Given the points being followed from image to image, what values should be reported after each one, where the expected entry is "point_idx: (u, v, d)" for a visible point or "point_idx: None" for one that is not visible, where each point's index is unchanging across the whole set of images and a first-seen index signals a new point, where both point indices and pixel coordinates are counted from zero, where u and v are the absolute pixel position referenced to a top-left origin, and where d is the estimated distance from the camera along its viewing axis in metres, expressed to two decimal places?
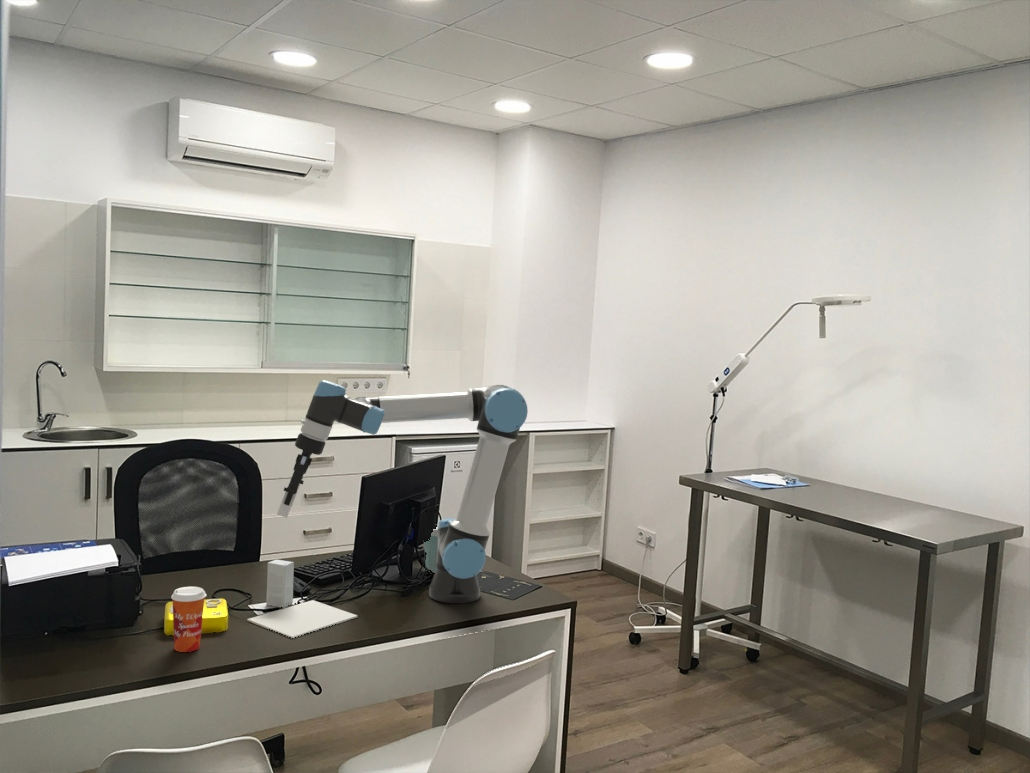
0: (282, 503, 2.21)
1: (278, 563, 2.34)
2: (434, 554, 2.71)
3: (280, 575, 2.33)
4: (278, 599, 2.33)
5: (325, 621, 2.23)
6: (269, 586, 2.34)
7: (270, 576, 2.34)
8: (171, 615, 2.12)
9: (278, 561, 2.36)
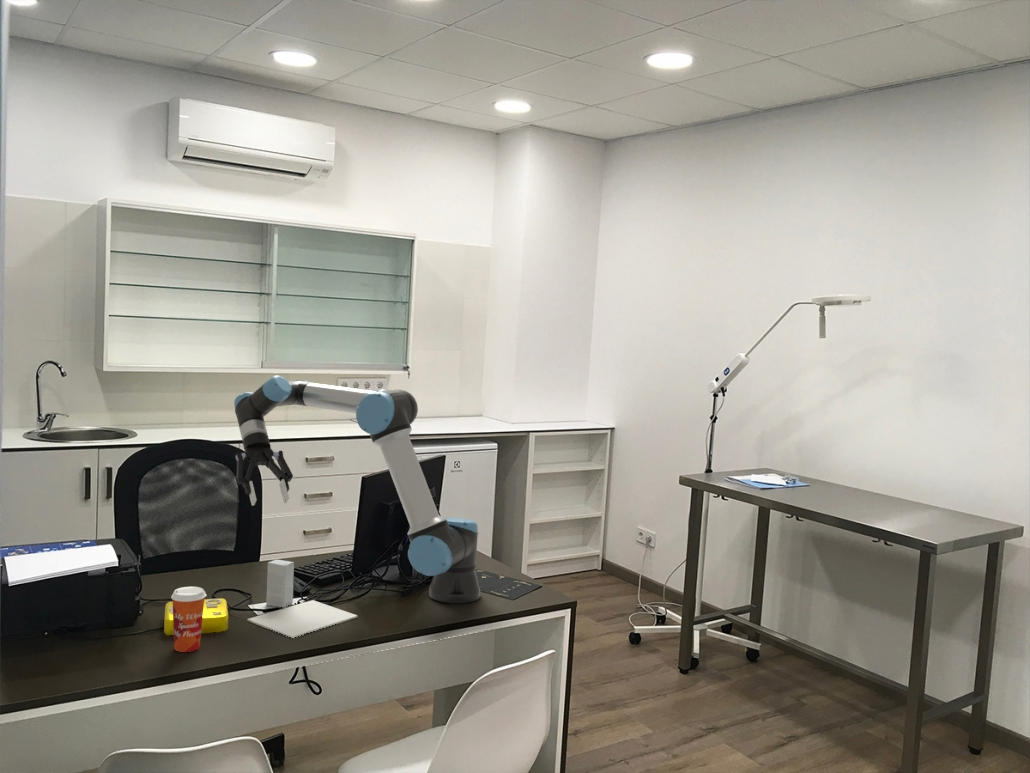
0: (249, 495, 2.42)
1: (278, 563, 2.34)
2: None
3: (280, 575, 2.33)
4: (278, 599, 2.33)
5: (325, 621, 2.23)
6: (269, 586, 2.34)
7: (270, 576, 2.34)
8: (171, 615, 2.12)
9: (278, 561, 2.36)
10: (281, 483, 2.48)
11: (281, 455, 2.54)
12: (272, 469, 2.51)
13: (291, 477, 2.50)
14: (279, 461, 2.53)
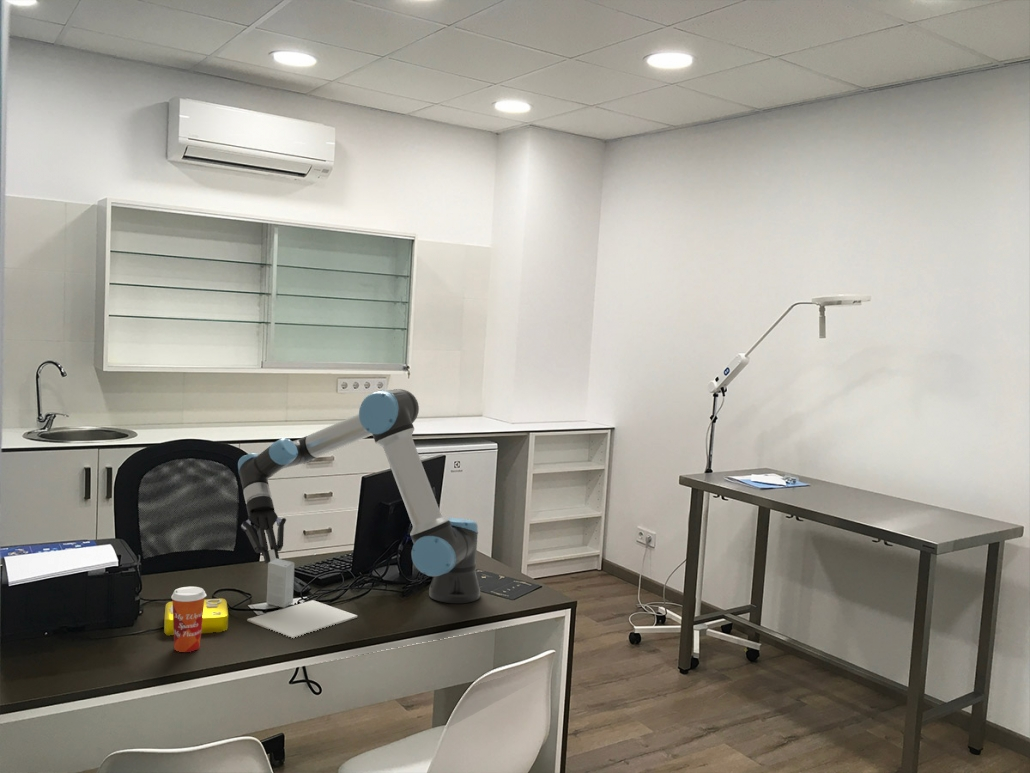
0: None
1: (279, 564, 2.32)
2: None
3: (280, 576, 2.32)
4: (278, 599, 2.33)
5: (325, 621, 2.23)
6: (269, 585, 2.34)
7: (270, 576, 2.33)
8: (171, 615, 2.12)
9: (278, 561, 2.34)
10: None
11: (282, 523, 2.48)
12: (268, 535, 2.45)
13: (280, 547, 2.43)
14: (278, 527, 2.48)
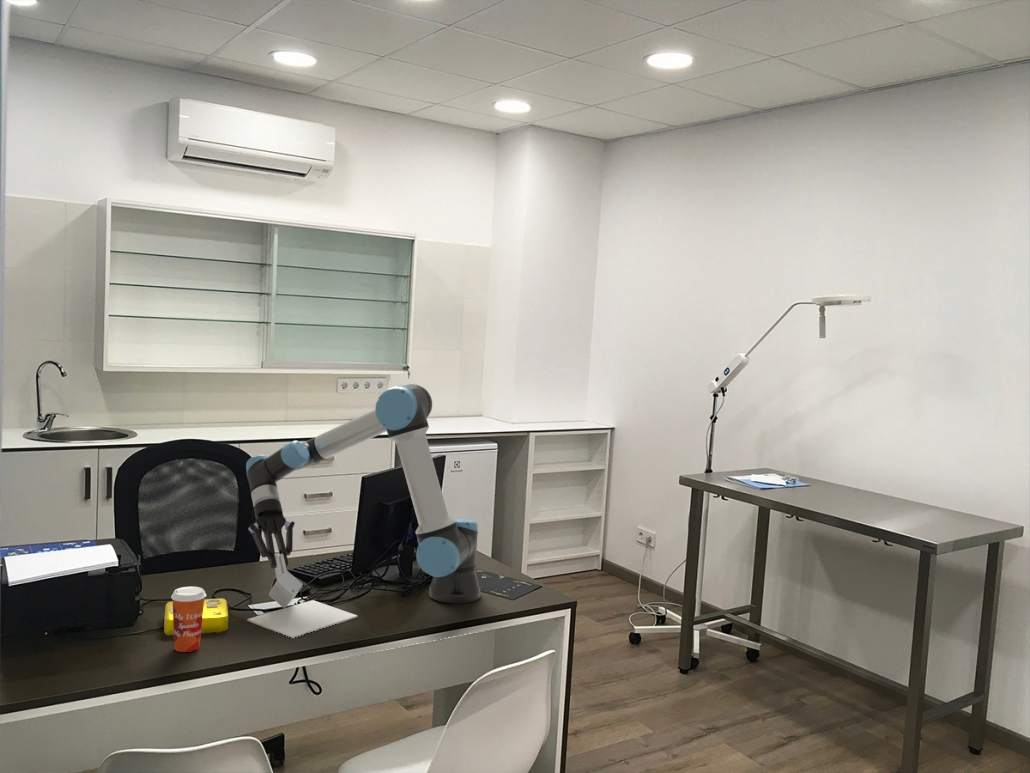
0: (275, 569, 2.33)
1: (287, 586, 2.24)
2: None
3: (286, 594, 2.26)
4: (280, 601, 2.31)
5: (325, 621, 2.23)
6: (274, 590, 2.29)
7: (276, 588, 2.27)
8: (171, 615, 2.12)
9: (287, 579, 2.25)
10: (280, 558, 2.35)
11: (291, 526, 2.42)
12: (277, 539, 2.39)
13: (290, 551, 2.37)
14: (287, 531, 2.42)
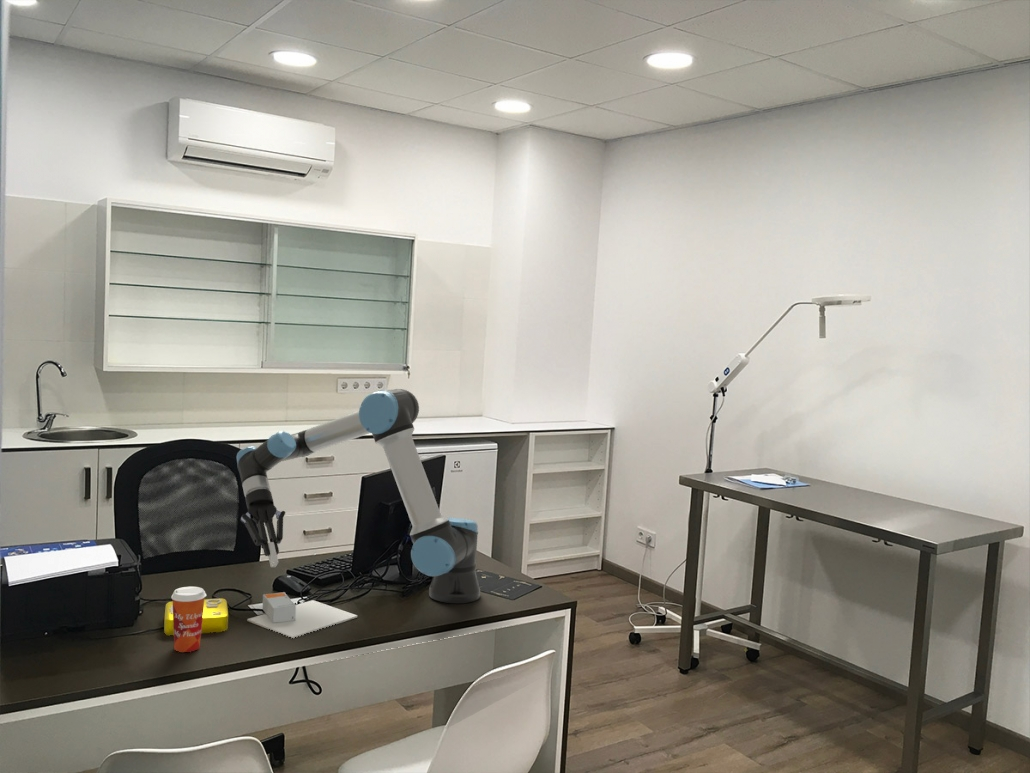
0: (268, 557, 2.41)
1: (285, 619, 2.21)
2: None
3: None
4: None
5: (325, 621, 2.23)
6: None
7: None
8: (171, 615, 2.12)
9: (280, 613, 2.20)
10: None
11: (282, 515, 2.49)
12: (268, 528, 2.46)
13: (280, 539, 2.44)
14: (278, 520, 2.49)
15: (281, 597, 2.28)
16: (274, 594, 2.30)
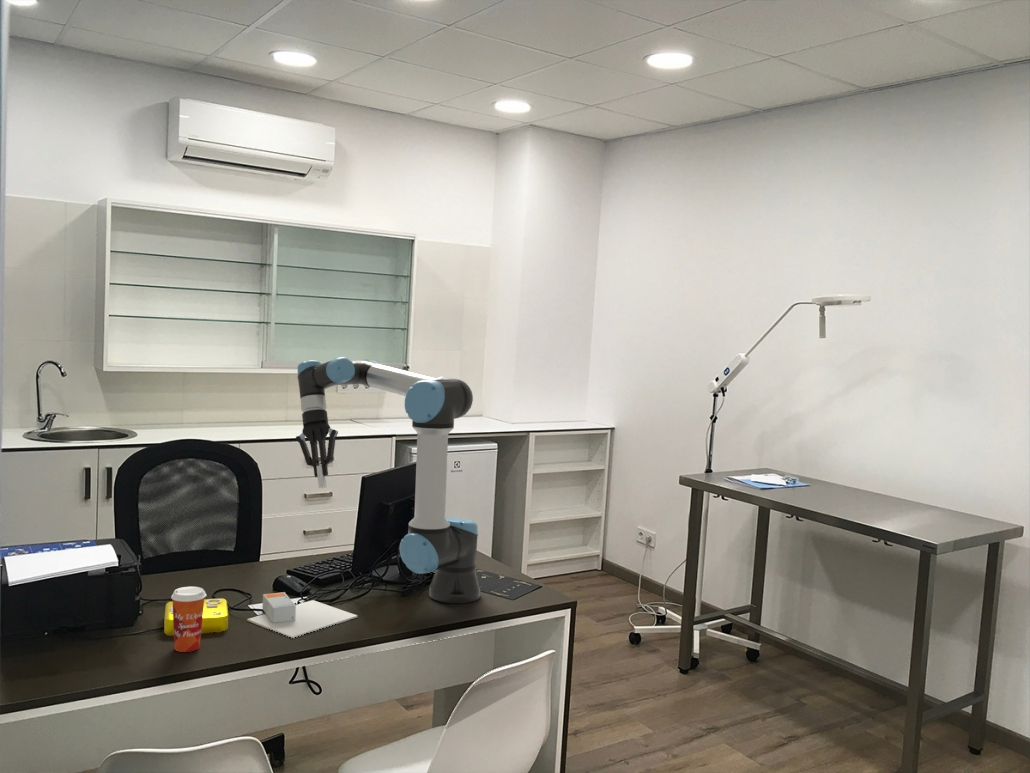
0: None
1: (285, 619, 2.21)
2: None
3: None
4: None
5: (325, 621, 2.23)
6: None
7: None
8: (171, 615, 2.12)
9: (280, 613, 2.20)
10: None
11: (332, 435, 2.57)
12: None
13: (328, 461, 2.56)
14: None
15: (281, 597, 2.28)
16: (274, 594, 2.30)
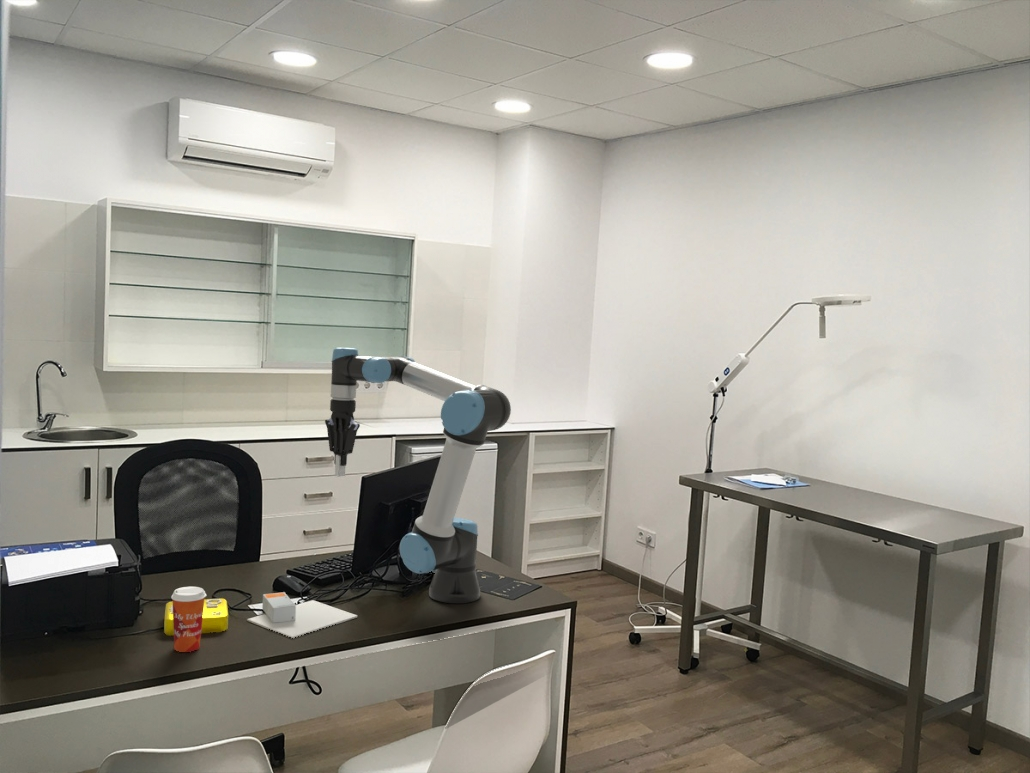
0: None
1: (285, 619, 2.21)
2: None
3: None
4: None
5: (325, 621, 2.23)
6: None
7: None
8: (171, 615, 2.12)
9: (280, 613, 2.20)
10: None
11: (350, 429, 2.53)
12: None
13: (345, 453, 2.55)
14: None
15: (281, 597, 2.28)
16: (274, 594, 2.30)
